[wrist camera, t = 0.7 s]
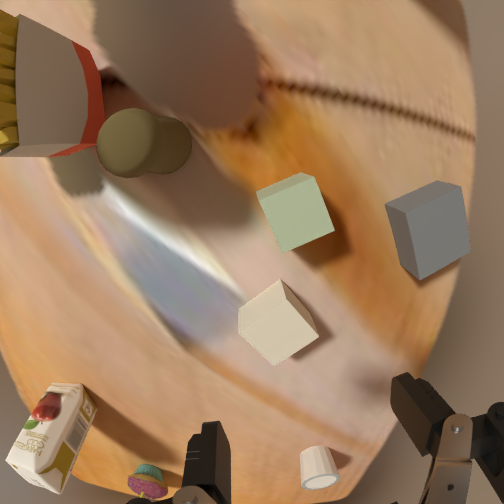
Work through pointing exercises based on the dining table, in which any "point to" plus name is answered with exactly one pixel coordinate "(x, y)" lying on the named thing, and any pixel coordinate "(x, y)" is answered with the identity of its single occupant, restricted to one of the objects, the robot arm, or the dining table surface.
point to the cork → (142, 143)
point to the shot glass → (317, 468)
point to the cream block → (276, 323)
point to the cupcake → (148, 482)
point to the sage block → (295, 211)
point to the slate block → (429, 228)
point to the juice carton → (53, 436)
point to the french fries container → (46, 91)
